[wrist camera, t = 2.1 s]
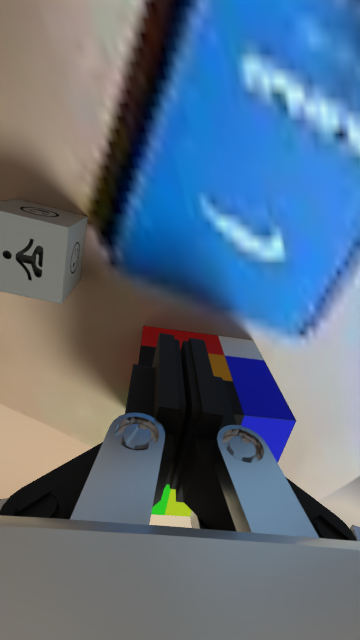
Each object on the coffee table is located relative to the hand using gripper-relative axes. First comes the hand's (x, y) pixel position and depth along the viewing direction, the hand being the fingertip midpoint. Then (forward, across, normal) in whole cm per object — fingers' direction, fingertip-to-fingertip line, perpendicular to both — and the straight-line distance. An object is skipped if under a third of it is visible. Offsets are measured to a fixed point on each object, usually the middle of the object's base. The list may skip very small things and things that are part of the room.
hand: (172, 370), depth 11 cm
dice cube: (+15, +9, 0) cm, 17 cm away
